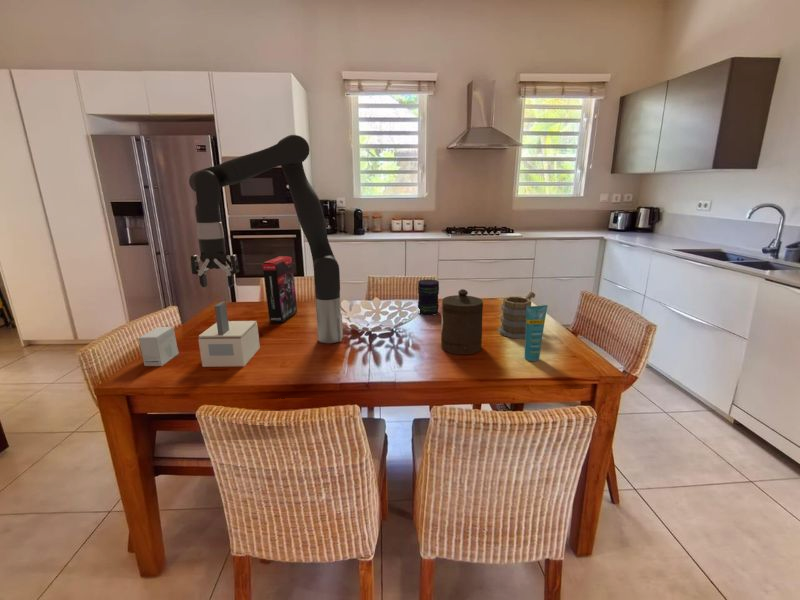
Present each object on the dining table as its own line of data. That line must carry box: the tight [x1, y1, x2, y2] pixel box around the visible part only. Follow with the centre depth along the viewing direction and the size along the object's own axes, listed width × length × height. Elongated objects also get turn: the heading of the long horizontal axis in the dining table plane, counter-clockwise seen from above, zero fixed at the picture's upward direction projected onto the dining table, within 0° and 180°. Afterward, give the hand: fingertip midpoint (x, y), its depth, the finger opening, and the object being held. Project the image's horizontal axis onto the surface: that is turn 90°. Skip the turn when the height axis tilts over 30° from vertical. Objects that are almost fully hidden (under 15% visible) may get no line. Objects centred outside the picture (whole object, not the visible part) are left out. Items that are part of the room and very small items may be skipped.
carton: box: [198, 323, 261, 368], centre depth 141 cm, size 14×16×10 cm
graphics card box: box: [262, 255, 298, 324], centre depth 181 cm, size 17×7×27 cm, turn 172°
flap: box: [198, 301, 258, 339], centre depth 139 cm, size 14×15×11 cm
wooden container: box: [440, 288, 484, 356], centre depth 147 cm, size 15×15×22 cm
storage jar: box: [417, 279, 440, 316], centre depth 189 cm, size 10×10×15 cm
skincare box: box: [138, 326, 180, 367], centre depth 139 cm, size 10×6×10 cm, turn 178°
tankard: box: [497, 291, 536, 339], centre depth 164 cm, size 20×13×15 cm, turn 131°
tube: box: [523, 304, 548, 362], centre depth 137 cm, size 7×5×19 cm, turn 103°
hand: (217, 286), depth 131 cm, fingers open, 8 cm apart
